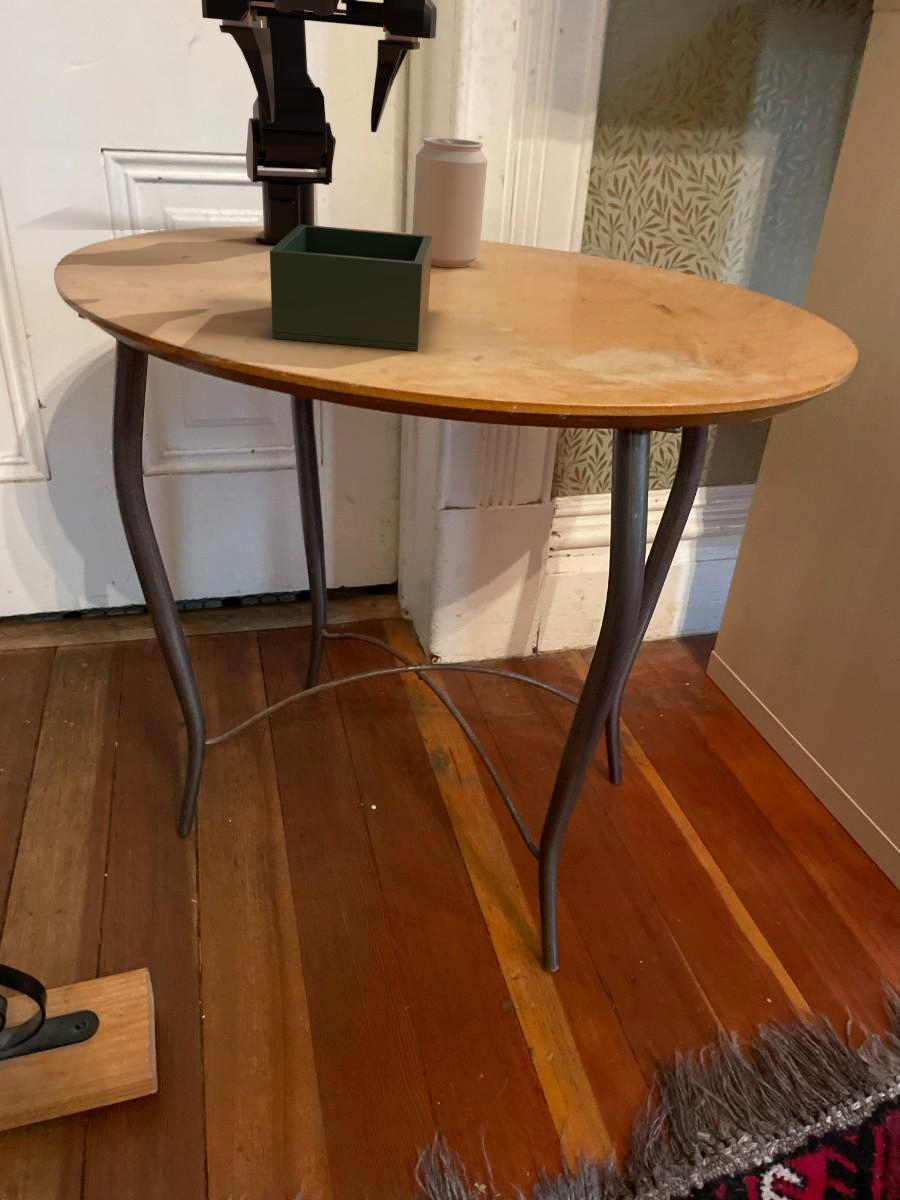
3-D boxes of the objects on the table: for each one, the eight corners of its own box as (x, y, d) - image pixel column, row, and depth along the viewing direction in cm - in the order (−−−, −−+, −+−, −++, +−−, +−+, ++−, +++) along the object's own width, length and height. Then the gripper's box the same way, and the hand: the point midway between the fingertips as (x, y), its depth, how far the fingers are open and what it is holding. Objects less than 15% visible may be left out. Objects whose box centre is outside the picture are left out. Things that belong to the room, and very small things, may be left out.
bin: (300, 302, 79) (299, 224, 75) (428, 313, 79) (432, 235, 75) (272, 338, 69) (269, 250, 66) (417, 351, 69) (422, 264, 66)
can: (472, 272, 94) (482, 146, 88) (403, 263, 95) (409, 138, 89) (484, 258, 100) (494, 140, 94) (419, 251, 101) (425, 133, 95)
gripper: (169, -122, 63) (188, 125, 72) (430, -99, 63) (417, 147, 71) (216, -102, 73) (227, 114, 81) (442, -82, 72) (430, 133, 81)
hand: (322, 127), depth 78 cm, fingers open, 9 cm apart
